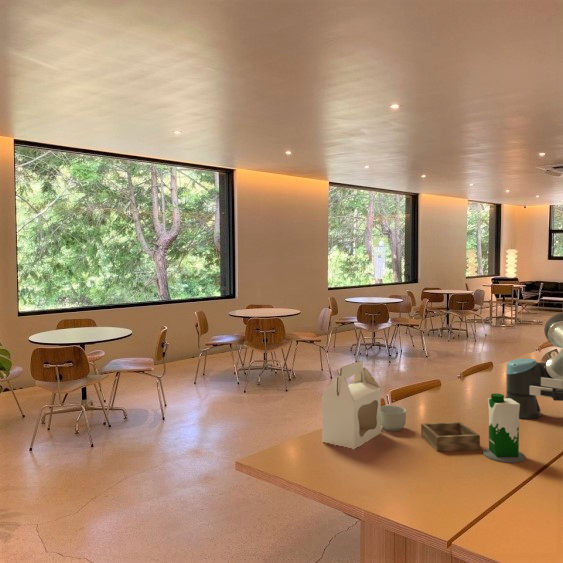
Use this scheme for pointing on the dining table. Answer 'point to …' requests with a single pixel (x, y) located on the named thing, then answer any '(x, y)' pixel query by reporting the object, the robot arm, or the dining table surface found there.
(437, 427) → the walnut crate
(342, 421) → the gable box
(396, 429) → the teacup
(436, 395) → the dining table surface
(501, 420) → the soya milk
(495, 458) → the grey coaster
